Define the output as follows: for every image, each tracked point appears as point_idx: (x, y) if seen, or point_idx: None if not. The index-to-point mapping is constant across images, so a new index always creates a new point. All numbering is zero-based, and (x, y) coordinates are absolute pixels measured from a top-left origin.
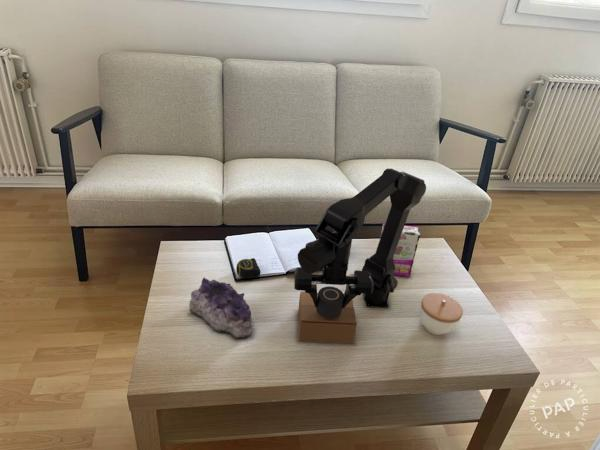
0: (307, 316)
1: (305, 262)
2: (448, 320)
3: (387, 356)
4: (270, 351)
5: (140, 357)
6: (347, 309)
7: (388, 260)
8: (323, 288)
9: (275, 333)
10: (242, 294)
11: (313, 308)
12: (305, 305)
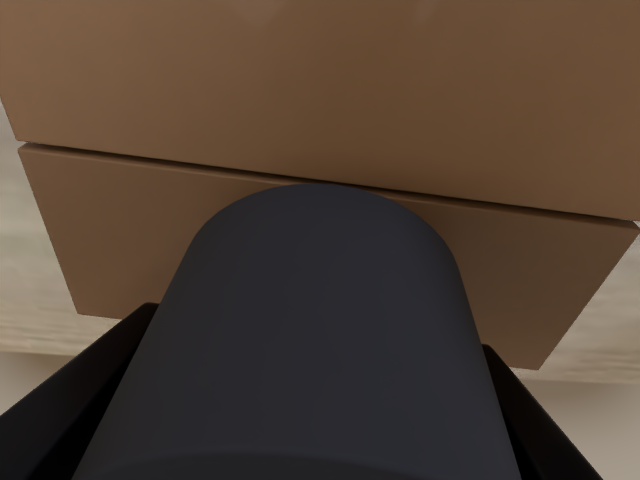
0: (123, 288)
1: None
2: None
3: (617, 309)
4: (29, 235)
5: None
6: (549, 243)
7: None
8: (149, 478)
9: (6, 117)
10: None
11: (170, 204)
12: (72, 146)
